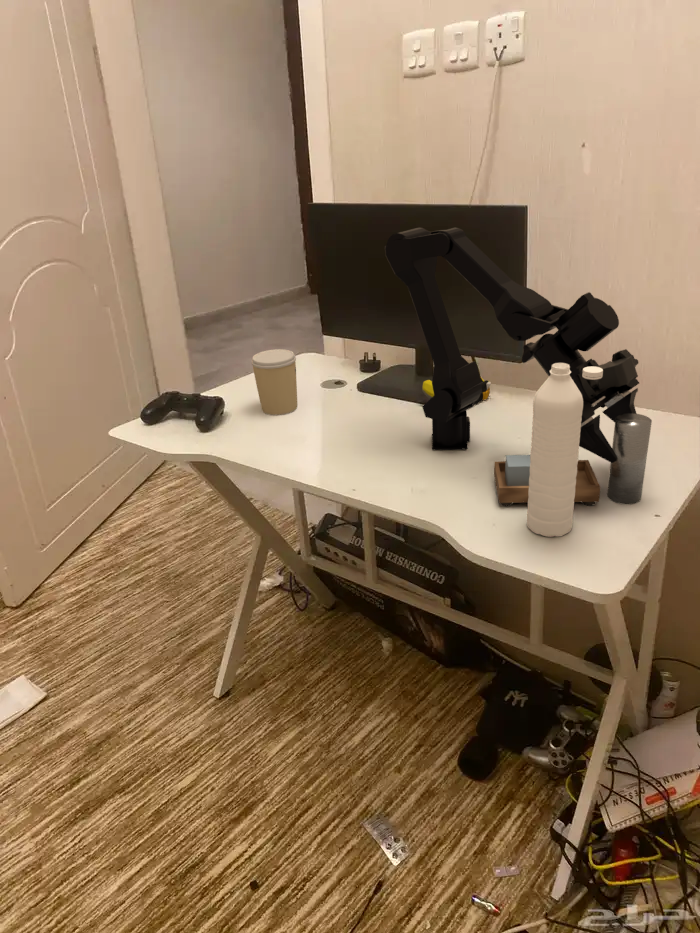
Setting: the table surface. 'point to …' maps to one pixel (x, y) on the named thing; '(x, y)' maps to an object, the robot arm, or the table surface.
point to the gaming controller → (429, 392)
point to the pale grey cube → (517, 470)
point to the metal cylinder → (629, 458)
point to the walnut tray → (584, 489)
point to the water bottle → (555, 451)
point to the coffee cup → (276, 381)
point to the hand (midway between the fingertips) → (628, 450)
